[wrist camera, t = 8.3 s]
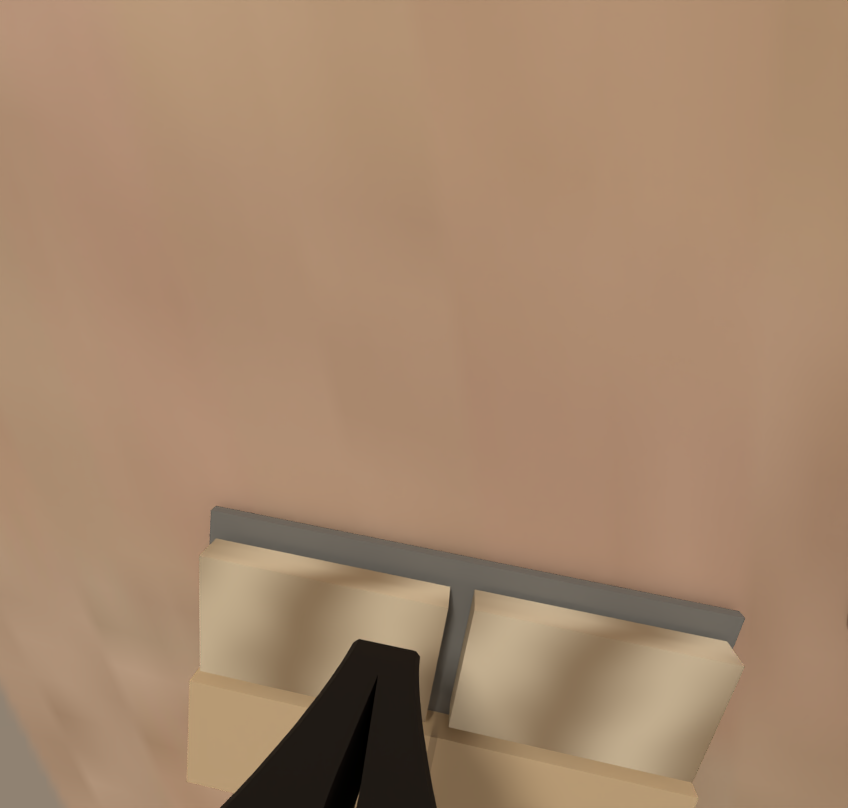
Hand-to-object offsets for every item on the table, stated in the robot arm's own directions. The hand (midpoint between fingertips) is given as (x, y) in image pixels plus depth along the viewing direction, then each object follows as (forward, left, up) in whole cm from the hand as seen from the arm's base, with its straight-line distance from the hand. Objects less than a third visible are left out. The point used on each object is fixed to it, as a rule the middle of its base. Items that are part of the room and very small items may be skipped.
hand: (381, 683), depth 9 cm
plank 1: (+3, +6, -9) cm, 11 cm away
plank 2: (-8, +6, -9) cm, 13 cm away
